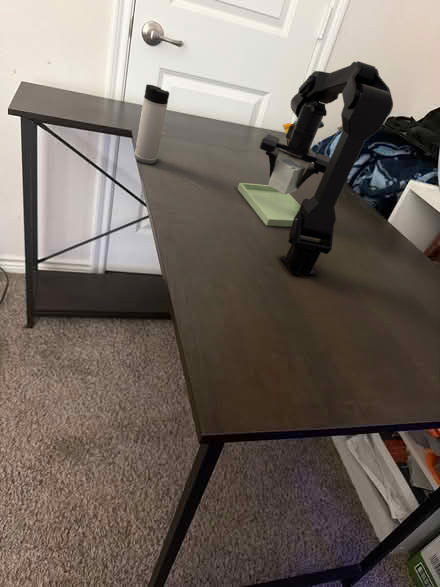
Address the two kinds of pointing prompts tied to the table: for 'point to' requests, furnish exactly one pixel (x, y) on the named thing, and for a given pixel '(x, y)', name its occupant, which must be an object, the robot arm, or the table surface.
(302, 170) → the product carton
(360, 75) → the robot arm
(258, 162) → the table surface
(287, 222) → the tray
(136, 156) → the travel mug
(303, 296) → the table surface
